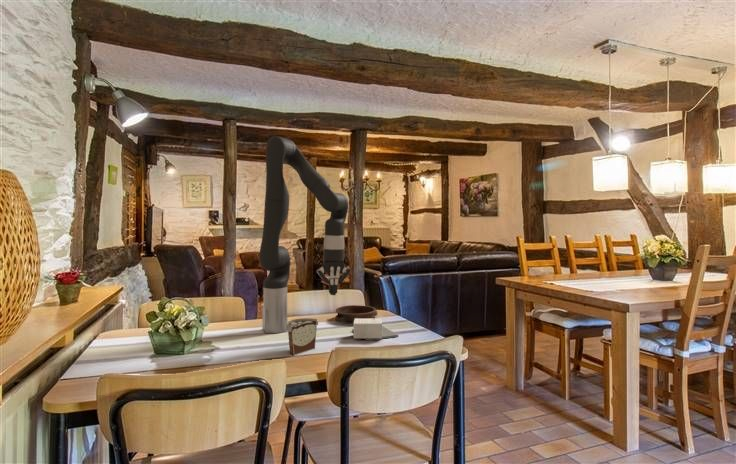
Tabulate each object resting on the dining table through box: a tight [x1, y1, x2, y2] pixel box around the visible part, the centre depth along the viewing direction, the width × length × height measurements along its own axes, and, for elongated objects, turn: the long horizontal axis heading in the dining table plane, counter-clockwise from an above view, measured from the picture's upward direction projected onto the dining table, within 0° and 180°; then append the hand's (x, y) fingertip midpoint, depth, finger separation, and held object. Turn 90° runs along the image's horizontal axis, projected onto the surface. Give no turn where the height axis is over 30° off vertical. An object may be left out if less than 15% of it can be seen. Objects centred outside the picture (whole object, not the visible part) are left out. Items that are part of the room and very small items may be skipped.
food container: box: [286, 317, 319, 356], centre depth 142 cm, size 12×6×10 cm, turn 141°
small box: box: [353, 317, 383, 339], centre depth 158 cm, size 8×6×10 cm
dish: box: [334, 304, 378, 324], centre depth 185 cm, size 18×22×5 cm
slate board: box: [352, 325, 399, 342], centre depth 163 cm, size 13×14×1 cm
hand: (332, 294), depth 155 cm, fingers closed
